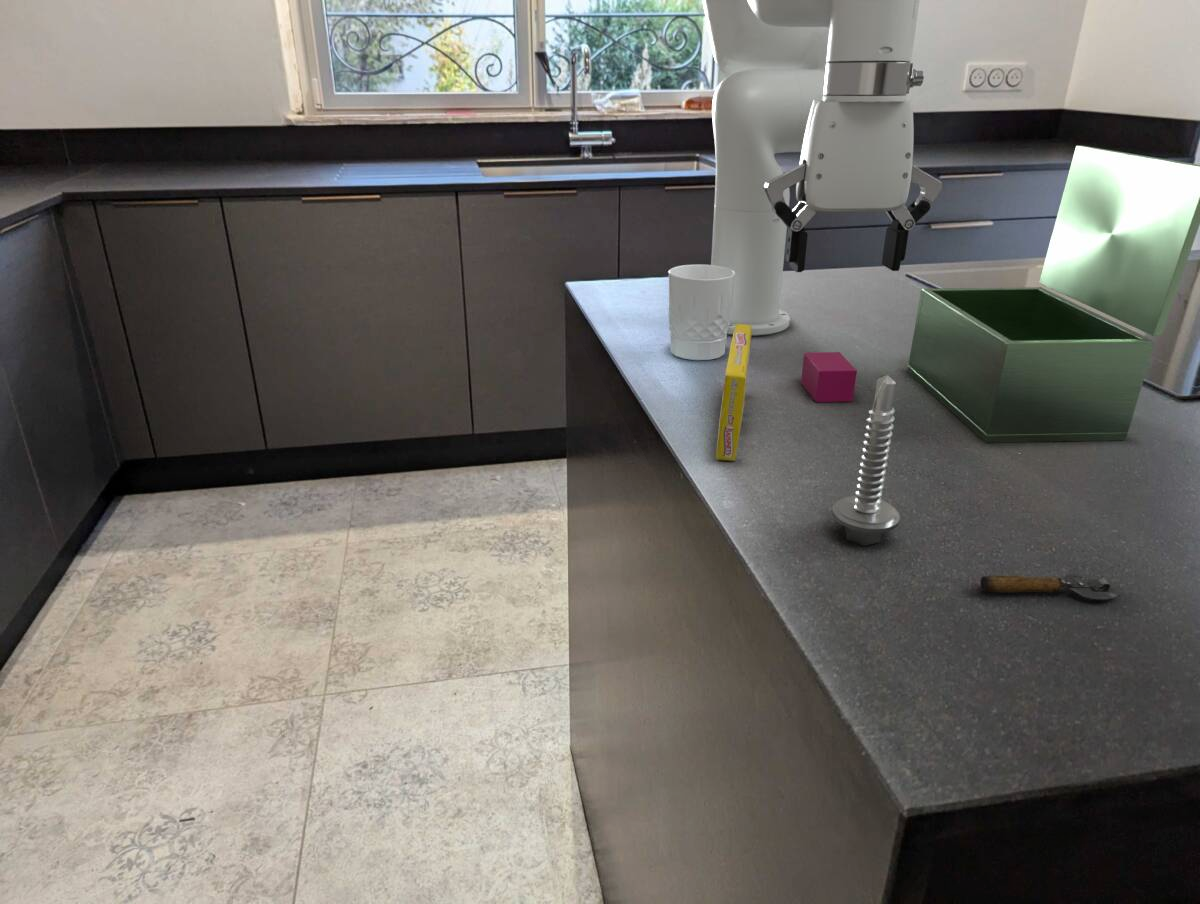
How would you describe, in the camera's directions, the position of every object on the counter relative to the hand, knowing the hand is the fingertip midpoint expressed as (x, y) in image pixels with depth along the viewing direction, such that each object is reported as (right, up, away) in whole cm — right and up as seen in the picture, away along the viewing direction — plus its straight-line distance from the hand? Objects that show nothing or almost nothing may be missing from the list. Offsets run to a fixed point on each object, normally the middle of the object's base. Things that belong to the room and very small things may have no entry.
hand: (843, 268), depth 84 cm
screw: (-5, -25, -21) cm, 33 cm away
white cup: (-13, -6, +18) cm, 23 cm away
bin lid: (+25, +2, -4) cm, 25 cm away
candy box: (-12, -16, -2) cm, 20 cm away
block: (0, -12, +6) cm, 14 cm away
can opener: (+5, -28, -28) cm, 40 cm away
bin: (+18, -13, +3) cm, 23 cm away
